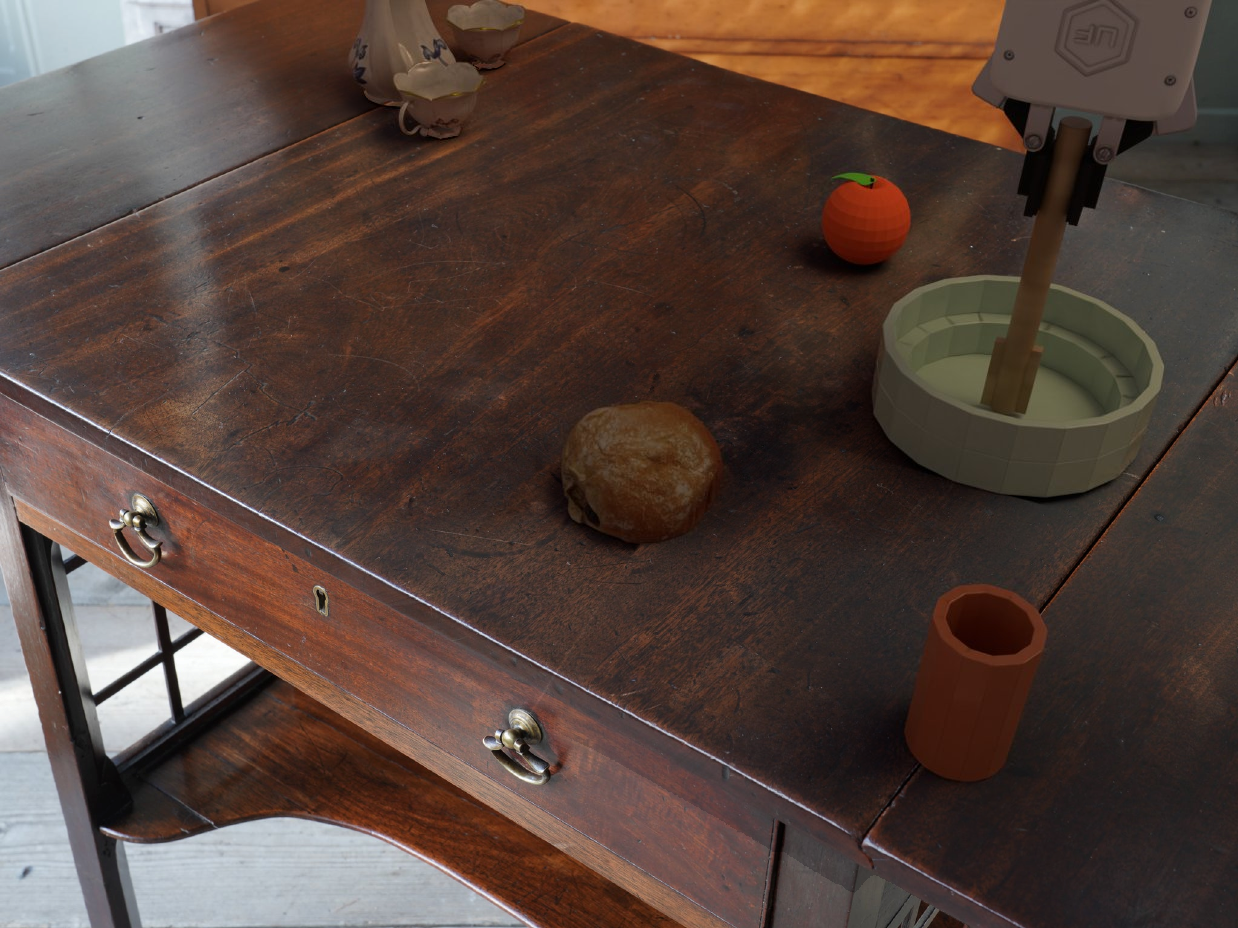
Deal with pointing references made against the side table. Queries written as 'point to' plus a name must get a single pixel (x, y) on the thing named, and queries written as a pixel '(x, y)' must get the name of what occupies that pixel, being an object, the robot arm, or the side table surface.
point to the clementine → (865, 219)
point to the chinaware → (430, 57)
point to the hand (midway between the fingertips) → (1054, 209)
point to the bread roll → (641, 471)
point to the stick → (1036, 276)
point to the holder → (973, 681)
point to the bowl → (1060, 400)
